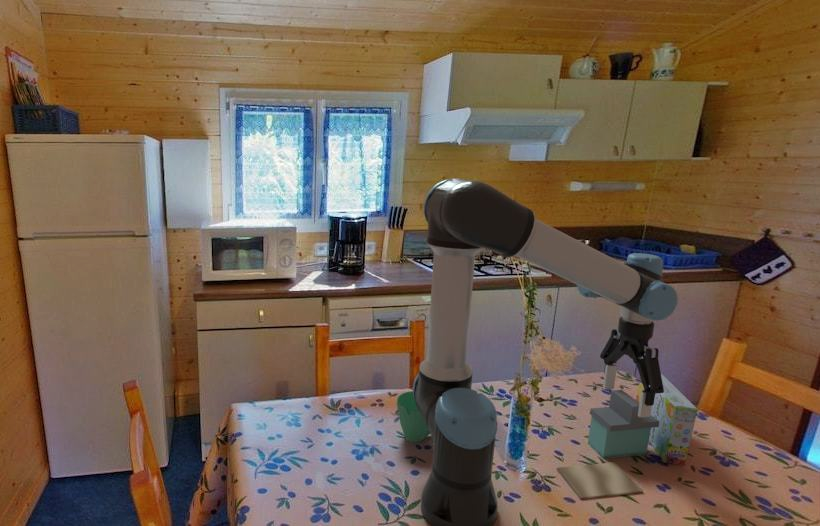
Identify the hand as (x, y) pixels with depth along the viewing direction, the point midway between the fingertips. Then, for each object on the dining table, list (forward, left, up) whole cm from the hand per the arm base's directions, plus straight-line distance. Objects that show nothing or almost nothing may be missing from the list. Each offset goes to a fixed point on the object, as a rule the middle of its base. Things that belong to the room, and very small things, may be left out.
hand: (625, 401), depth 115 cm
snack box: (+13, +2, -13) cm, 19 cm away
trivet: (-12, -11, -13) cm, 21 cm away
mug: (-47, +11, -13) cm, 50 cm away
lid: (0, 0, -5) cm, 5 cm away
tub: (0, 0, -13) cm, 13 cm away
